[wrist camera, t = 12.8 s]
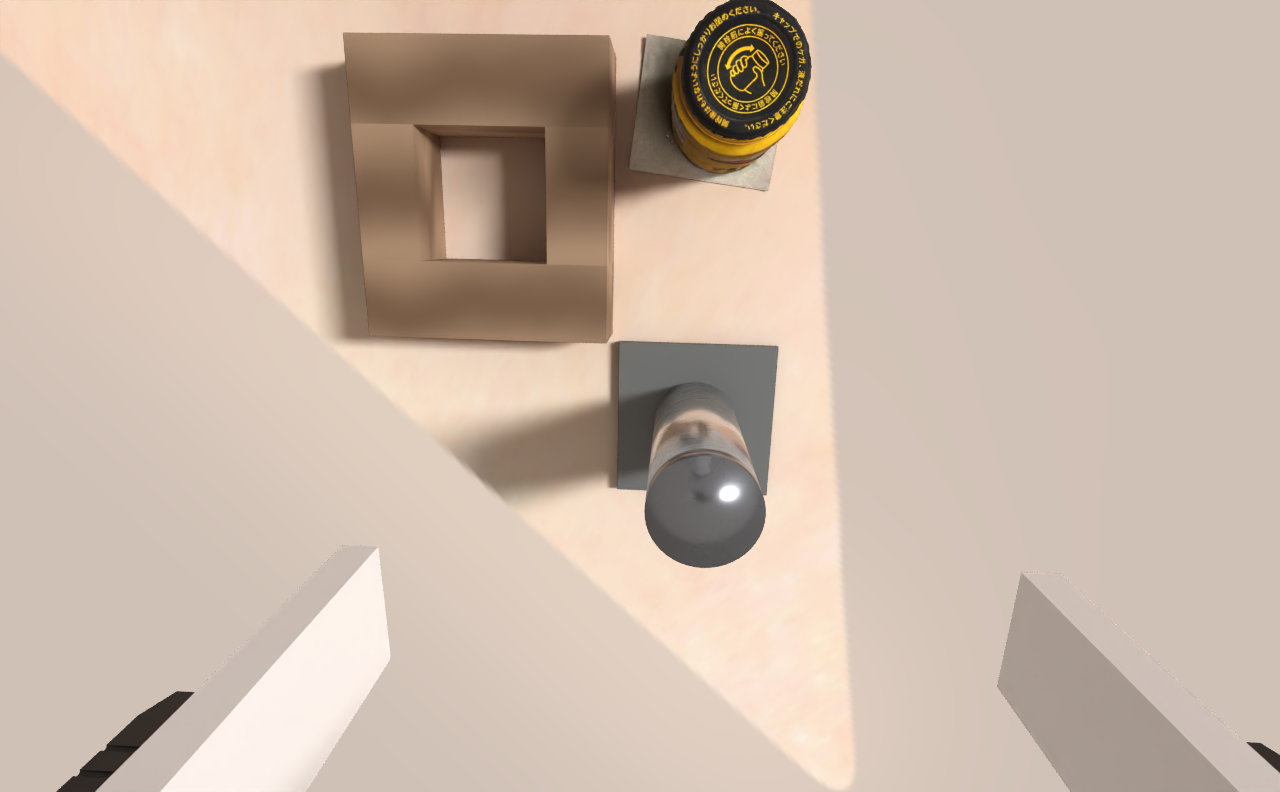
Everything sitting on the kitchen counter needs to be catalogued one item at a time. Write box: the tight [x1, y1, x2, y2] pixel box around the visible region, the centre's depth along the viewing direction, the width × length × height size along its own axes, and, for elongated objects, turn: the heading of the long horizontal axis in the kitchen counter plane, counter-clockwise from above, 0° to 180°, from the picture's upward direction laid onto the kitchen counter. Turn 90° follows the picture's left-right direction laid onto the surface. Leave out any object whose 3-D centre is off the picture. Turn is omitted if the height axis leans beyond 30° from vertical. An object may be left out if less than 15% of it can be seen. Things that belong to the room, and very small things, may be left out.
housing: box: [343, 33, 616, 343], centre depth 36 cm, size 16×14×4 cm
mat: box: [617, 341, 778, 495], centre depth 40 cm, size 10×10×1 cm
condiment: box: [629, 0, 812, 191], centre depth 30 cm, size 7×8×12 cm
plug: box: [645, 382, 766, 568], centre depth 33 cm, size 5×5×14 cm
